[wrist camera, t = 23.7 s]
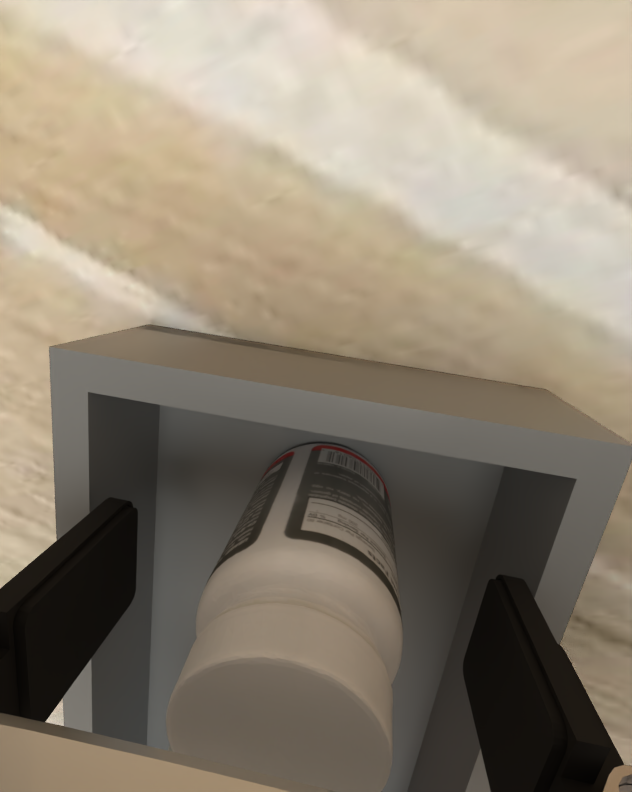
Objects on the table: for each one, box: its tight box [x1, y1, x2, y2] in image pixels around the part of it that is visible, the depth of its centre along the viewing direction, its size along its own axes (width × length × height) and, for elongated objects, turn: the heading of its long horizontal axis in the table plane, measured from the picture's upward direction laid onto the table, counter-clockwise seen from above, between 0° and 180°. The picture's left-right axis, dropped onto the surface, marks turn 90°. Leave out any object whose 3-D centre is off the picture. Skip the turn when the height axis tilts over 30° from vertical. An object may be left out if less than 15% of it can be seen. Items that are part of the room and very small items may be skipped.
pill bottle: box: [166, 443, 403, 792], centre depth 11 cm, size 5×5×8 cm
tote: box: [49, 325, 632, 792], centre depth 15 cm, size 14×22×5 cm, turn 172°
